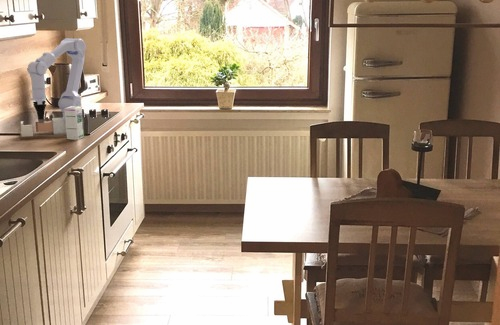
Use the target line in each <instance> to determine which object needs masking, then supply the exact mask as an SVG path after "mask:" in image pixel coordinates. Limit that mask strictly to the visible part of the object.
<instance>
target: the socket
mask: <svg viewBox="0 0 500 325" xmlns="http://www.w3.org/2000/svg"><path fill="white" fill-rule="evenodd" d="M20 130H21V132H20V133H22V137H26V136H33V131H34V129H33V124H25V125H24V121H20Z"/></svg>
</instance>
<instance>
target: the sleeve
mask: <svg viewBox="0 0 500 325" xmlns="http://www.w3.org/2000/svg"><path fill="white" fill-rule="evenodd" d="M51 119H52V120H51V121H53V134H54V135H57V134H67V132H66V121H65V117H63V116H62V117H52V118H51Z"/></svg>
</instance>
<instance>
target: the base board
mask: <svg viewBox="0 0 500 325" xmlns="http://www.w3.org/2000/svg"><path fill="white" fill-rule="evenodd" d="M19 138H20V141H25V140H27V141H28V140H38V139H42V140H43V139H57V138H67V134H57V135H54V134H53V131H46V132H36V131H34V132H33V136H26V137H22V132H20V133H19Z"/></svg>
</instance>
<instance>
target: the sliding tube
mask: <svg viewBox="0 0 500 325" xmlns="http://www.w3.org/2000/svg"><path fill="white" fill-rule="evenodd" d="M34 123H35V132H48V131H53V121H52V120H49V121H48V120H46V121H45V118H44V119H40V120H39V119H38V118H37V121H35V122H34Z"/></svg>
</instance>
